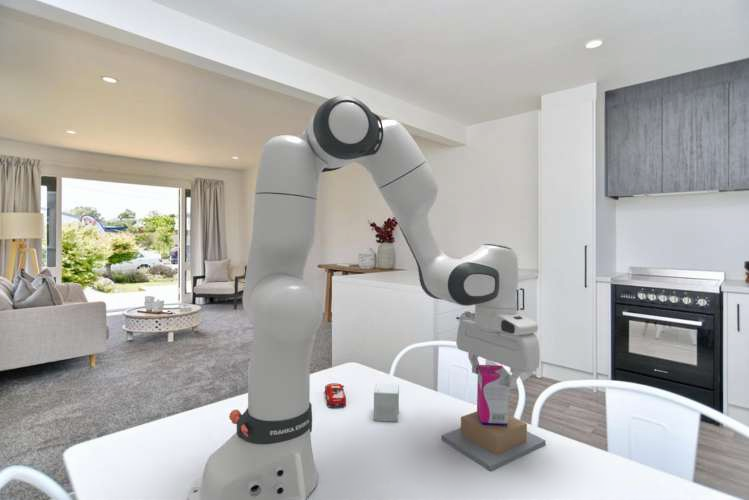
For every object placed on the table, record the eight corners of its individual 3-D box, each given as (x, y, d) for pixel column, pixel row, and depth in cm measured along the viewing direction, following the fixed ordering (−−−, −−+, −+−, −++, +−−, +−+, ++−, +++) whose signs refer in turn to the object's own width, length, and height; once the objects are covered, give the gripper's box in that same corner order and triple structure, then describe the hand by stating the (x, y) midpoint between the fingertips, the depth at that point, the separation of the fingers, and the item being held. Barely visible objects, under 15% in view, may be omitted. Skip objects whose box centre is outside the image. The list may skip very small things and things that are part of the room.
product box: (397, 422, 96) (398, 393, 96) (373, 421, 97) (373, 392, 97) (399, 411, 102) (399, 383, 102) (375, 410, 103) (376, 382, 103)
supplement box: (501, 412, 90) (503, 364, 89) (508, 426, 84) (510, 375, 83) (476, 411, 91) (477, 363, 90) (480, 425, 85) (482, 374, 84)
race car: (324, 390, 116) (324, 377, 116) (342, 389, 117) (342, 376, 117) (326, 410, 103) (326, 395, 103) (346, 409, 104) (347, 394, 104)
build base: (490, 471, 77) (491, 446, 77) (441, 439, 88) (441, 417, 88) (545, 444, 87) (546, 422, 86) (494, 419, 98) (495, 399, 98)
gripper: (451, 310, 93) (449, 368, 94) (526, 329, 76) (523, 399, 77) (470, 308, 97) (468, 364, 97) (545, 325, 80) (542, 392, 80)
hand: (493, 379), depth 87 cm, fingers open, 8 cm apart
